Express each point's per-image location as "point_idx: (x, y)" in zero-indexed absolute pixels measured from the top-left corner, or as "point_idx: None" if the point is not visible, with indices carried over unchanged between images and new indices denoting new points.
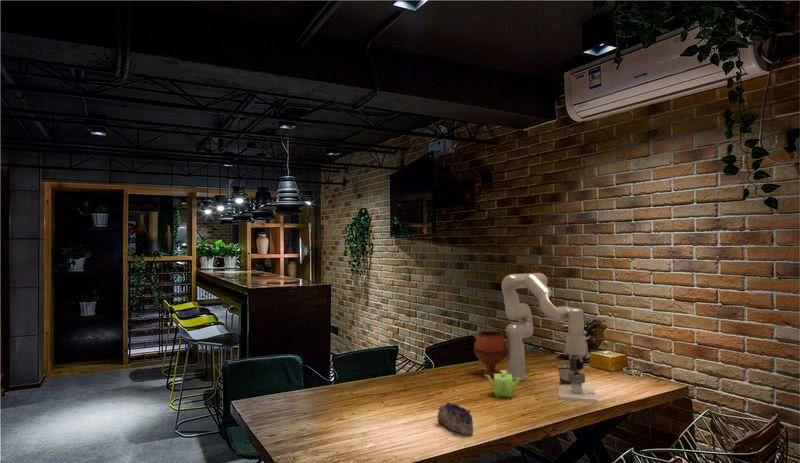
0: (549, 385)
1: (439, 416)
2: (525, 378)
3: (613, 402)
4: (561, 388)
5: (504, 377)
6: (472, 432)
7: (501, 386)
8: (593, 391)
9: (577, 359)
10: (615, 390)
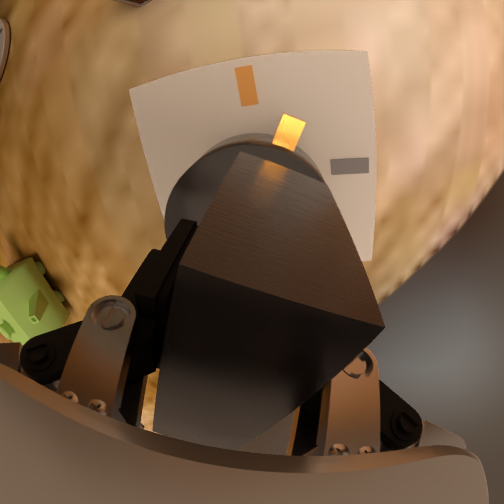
0: (90, 58)
1: None
2: (3, 61)
3: (434, 220)
4: (158, 131)
5: (16, 333)
6: (141, 427)
7: None
8: (364, 112)
9: (253, 434)
10: (458, 17)
